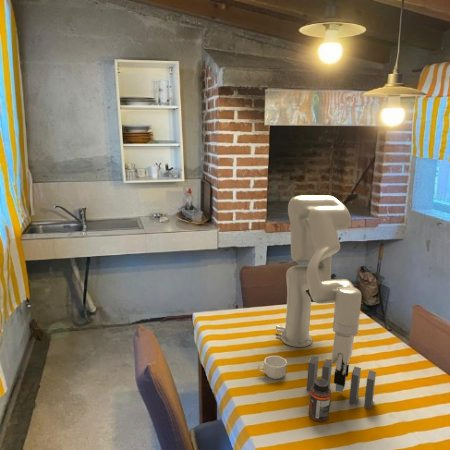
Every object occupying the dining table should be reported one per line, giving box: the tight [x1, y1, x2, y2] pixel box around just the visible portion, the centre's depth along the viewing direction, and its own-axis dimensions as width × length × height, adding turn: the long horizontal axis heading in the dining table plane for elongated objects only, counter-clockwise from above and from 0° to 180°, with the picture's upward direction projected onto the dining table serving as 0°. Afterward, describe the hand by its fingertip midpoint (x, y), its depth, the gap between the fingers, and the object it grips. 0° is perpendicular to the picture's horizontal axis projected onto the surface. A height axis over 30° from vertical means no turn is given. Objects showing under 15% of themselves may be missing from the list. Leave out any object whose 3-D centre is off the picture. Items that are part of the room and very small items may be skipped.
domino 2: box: [321, 358, 333, 390], centre depth 131 cm, size 2×5×10 cm, turn 153°
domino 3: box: [335, 362, 347, 393], centre depth 128 cm, size 2×5×10 cm, turn 153°
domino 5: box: [363, 370, 377, 410], centre depth 125 cm, size 2×5×10 cm, turn 153°
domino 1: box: [306, 355, 320, 392], centre depth 133 cm, size 2×5×10 cm, turn 153°
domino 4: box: [348, 366, 362, 406], centre depth 127 cm, size 2×5×10 cm, turn 153°
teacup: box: [257, 355, 288, 380], centre depth 140 cm, size 10×8×5 cm
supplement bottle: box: [308, 377, 332, 423], centre depth 119 cm, size 6×6×11 cm
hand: (341, 379), depth 129 cm, fingers closed on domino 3, 4 cm apart
